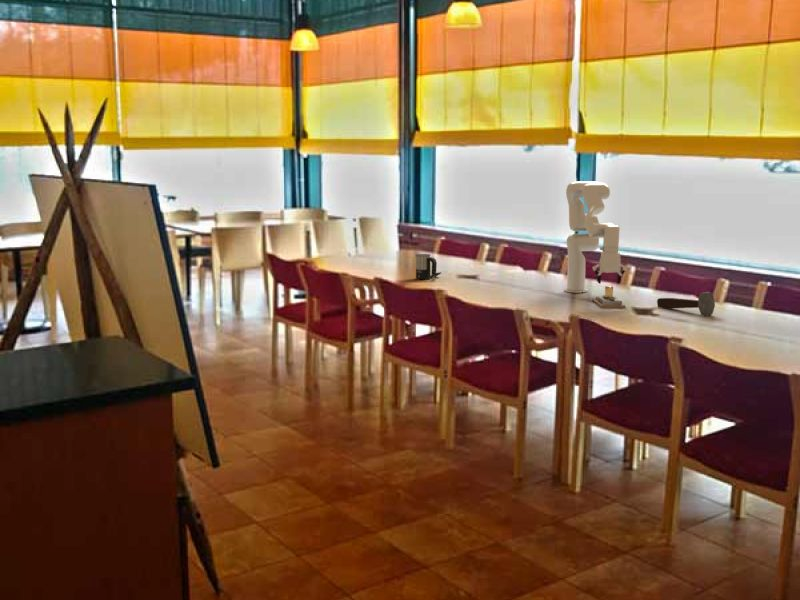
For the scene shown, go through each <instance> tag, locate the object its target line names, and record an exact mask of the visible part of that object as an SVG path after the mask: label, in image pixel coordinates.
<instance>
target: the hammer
mask: <svg viewBox="0 0 800 600" xmlns="http://www.w3.org/2000/svg"><path fill="white" fill-rule="evenodd" d="M656 304H657V308H659V307H662V308H661V309H695V308H698V311H699V312H700V316H702V315H706V316H705V317H708V316H707V315H711V316H712V315H713V313H714V311H715V310H714V309H715V307H716V301H715V298H714V295H713V294H712V292H711V291H710V292H709V291H705V292H704V291H703V292H700V293H699V295H698V299H697V300H696V299H688V298H678V297H677V298H676V297H661V298H657V300H656Z"/></svg>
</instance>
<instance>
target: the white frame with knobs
mask: <svg viewBox="0 0 800 600" xmlns="http://www.w3.org/2000/svg"><path fill="white" fill-rule="evenodd" d="M591 300H592V302H593V301H594V304H596V305H597V306H598V307H599V306H600V309H624V308H625V309H626V305H625V304H624V303H623V301H622V300H621V299H620V298H619V297H617V296H616V295H615V296H614V295H613V298H610V299H605V294H603V295H602V296H595V297H593V298H592V299H591Z"/></svg>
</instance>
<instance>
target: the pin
mask: <svg viewBox="0 0 800 600" xmlns="http://www.w3.org/2000/svg"><path fill="white" fill-rule="evenodd" d="M604 295H605V299H610V298H613V296H614V286H612V285H605V286H604Z"/></svg>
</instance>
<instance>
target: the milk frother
mask: <svg viewBox="0 0 800 600" xmlns="http://www.w3.org/2000/svg"><path fill="white" fill-rule="evenodd" d="M437 263H438V262H437V259H435V258H434V257H431V254H430V253H418V254H415V278H417V279H428V280H431V279H430V278H436V277H438V276H440V275H442V272H441V271H440V272H437V265H438V264H437ZM417 279H416V280H417Z"/></svg>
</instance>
